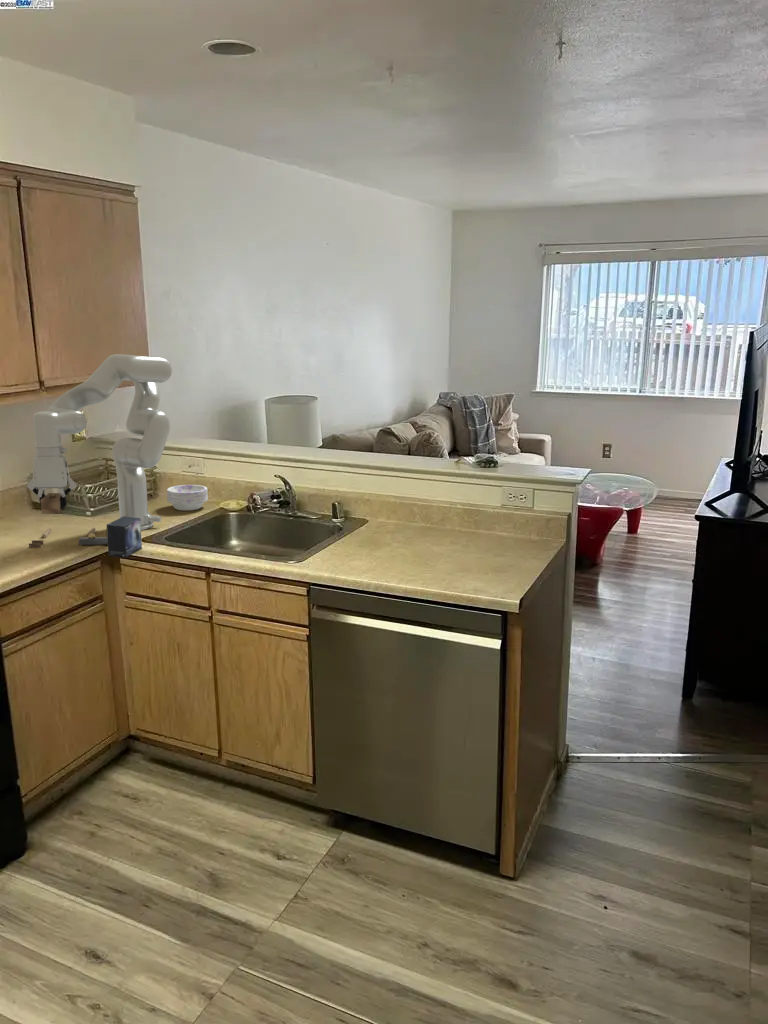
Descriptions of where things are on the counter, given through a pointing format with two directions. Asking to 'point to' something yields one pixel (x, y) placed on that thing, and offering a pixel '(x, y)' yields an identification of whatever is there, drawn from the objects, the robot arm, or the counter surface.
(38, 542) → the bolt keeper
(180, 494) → the paper bowls
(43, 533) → the bolt guide rails
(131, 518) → the small box
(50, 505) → the cap block
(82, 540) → the bar
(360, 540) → the counter surface
